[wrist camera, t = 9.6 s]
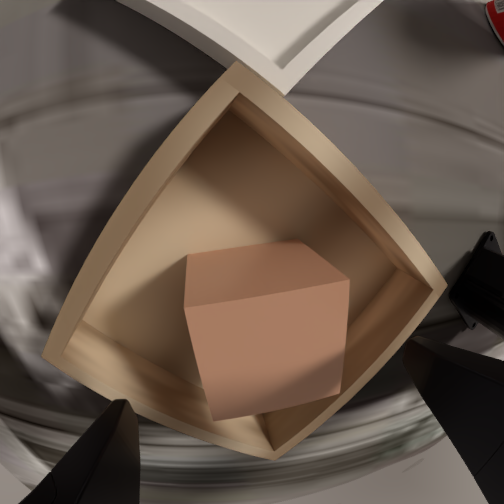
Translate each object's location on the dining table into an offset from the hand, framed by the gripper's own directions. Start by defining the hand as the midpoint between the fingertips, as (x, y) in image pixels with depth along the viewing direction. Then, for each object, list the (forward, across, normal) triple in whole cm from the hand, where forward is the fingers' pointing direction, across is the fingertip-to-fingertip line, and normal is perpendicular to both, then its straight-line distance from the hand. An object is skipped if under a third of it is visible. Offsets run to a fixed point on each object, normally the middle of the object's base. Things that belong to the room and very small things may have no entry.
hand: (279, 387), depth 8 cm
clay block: (+6, 0, 0) cm, 6 cm away
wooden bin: (+7, 0, 0) cm, 7 cm away
